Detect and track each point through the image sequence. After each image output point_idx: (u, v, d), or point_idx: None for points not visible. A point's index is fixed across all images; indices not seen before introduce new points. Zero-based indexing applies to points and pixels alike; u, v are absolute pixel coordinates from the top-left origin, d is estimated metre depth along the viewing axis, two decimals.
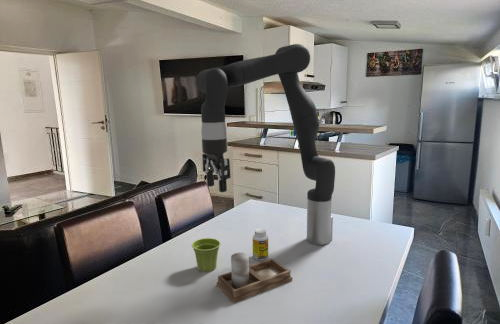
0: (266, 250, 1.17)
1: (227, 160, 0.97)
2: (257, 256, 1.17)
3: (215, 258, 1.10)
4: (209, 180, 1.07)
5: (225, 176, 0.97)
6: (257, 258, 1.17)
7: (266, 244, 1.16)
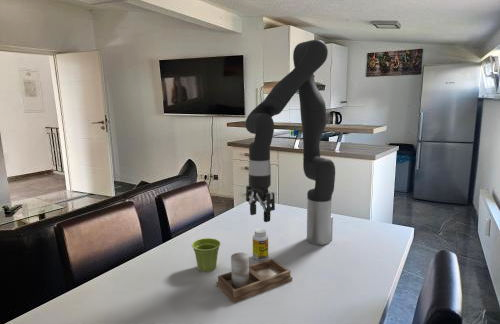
0: (266, 250, 1.17)
1: (272, 194, 1.09)
2: (257, 256, 1.17)
3: (215, 258, 1.10)
4: (252, 209, 1.19)
5: (270, 208, 1.10)
6: (257, 258, 1.17)
7: (266, 244, 1.16)
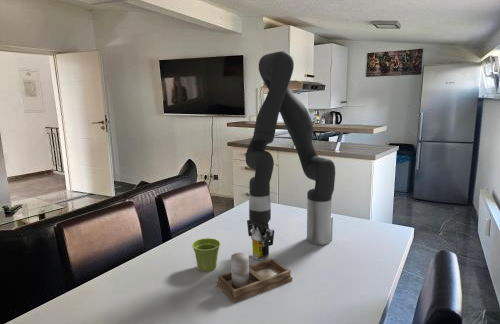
0: None
1: (272, 232, 1.12)
2: (257, 256, 1.17)
3: (215, 258, 1.10)
4: None
5: (268, 244, 1.13)
6: (257, 258, 1.17)
7: None
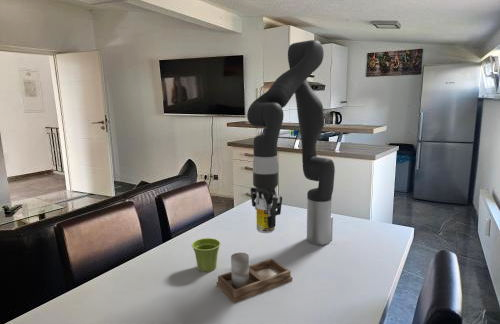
0: None
1: (280, 198, 0.96)
2: (262, 228, 1.00)
3: (215, 258, 1.10)
4: None
5: (275, 213, 0.97)
6: (262, 230, 1.01)
7: None
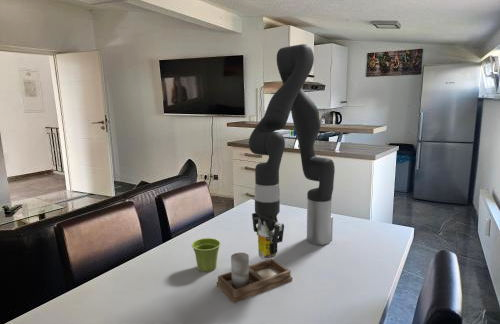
0: None
1: (282, 226, 0.97)
2: (264, 254, 1.01)
3: (215, 258, 1.10)
4: None
5: (277, 240, 0.98)
6: (264, 257, 1.01)
7: None
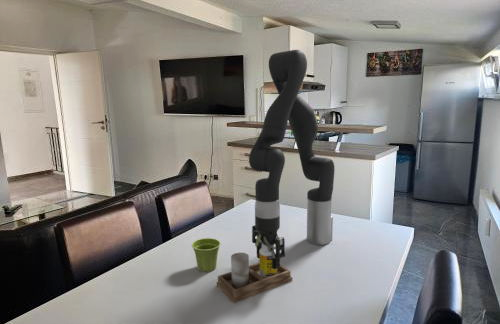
0: None
1: (282, 239, 0.97)
2: (265, 273, 1.02)
3: (215, 258, 1.10)
4: None
5: (280, 255, 0.97)
6: (264, 275, 1.03)
7: None
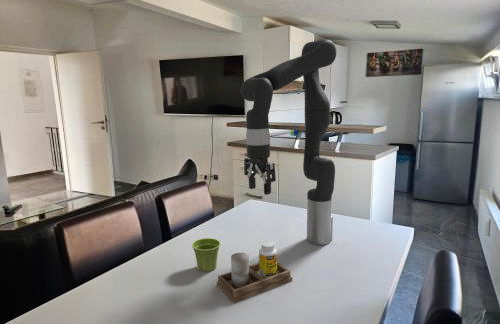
0: (275, 266, 1.03)
1: (273, 164, 1.03)
2: (264, 273, 1.02)
3: (215, 258, 1.10)
4: (251, 183, 1.13)
5: (271, 179, 1.03)
6: (264, 275, 1.03)
7: (274, 260, 1.02)
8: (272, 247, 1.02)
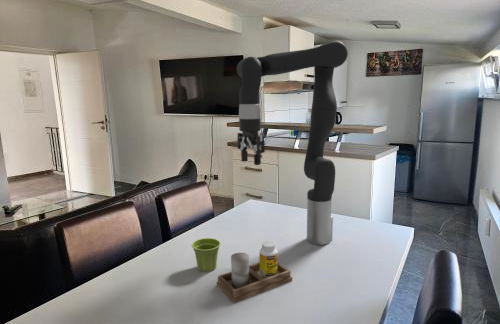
0: (275, 266, 1.03)
1: (262, 136, 1.12)
2: (264, 273, 1.02)
3: (215, 258, 1.10)
4: (243, 156, 1.22)
5: (260, 150, 1.13)
6: (264, 275, 1.03)
7: (274, 260, 1.02)
8: (273, 247, 1.02)
